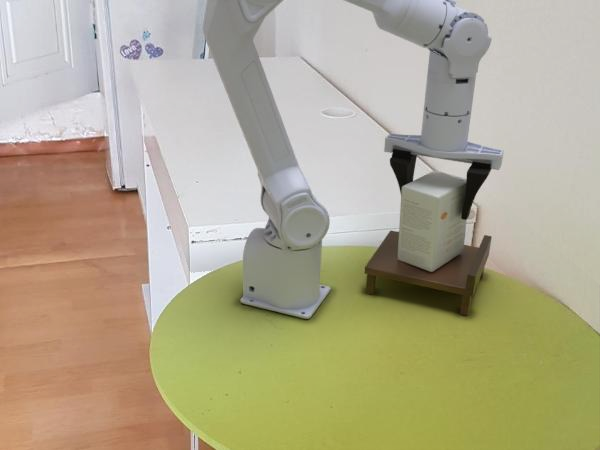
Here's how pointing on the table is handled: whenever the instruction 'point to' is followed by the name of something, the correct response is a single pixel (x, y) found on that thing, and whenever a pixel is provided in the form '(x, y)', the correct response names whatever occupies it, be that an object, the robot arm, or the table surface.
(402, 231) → the small box
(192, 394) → the table surface
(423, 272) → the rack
